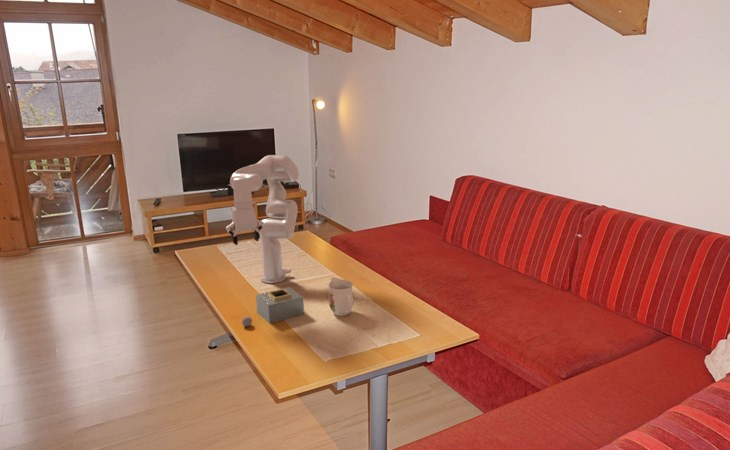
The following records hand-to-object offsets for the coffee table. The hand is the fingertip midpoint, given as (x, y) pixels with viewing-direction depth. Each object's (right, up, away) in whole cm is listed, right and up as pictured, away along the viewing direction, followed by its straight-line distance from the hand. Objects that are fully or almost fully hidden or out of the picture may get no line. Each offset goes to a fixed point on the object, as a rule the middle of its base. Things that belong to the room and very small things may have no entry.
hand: (246, 242), depth 242 cm
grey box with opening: (+16, -31, -6) cm, 35 cm away
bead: (+4, -30, -19) cm, 36 cm away
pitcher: (+43, -31, -7) cm, 54 cm away
